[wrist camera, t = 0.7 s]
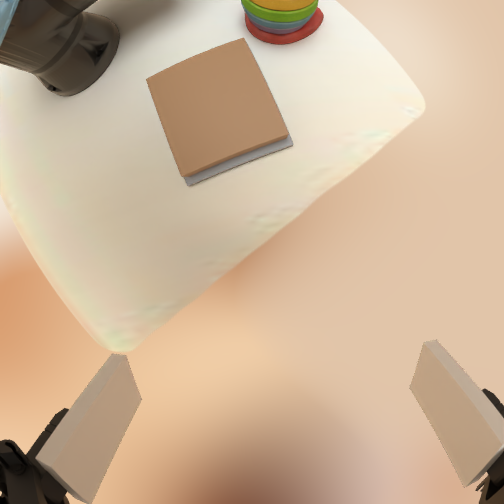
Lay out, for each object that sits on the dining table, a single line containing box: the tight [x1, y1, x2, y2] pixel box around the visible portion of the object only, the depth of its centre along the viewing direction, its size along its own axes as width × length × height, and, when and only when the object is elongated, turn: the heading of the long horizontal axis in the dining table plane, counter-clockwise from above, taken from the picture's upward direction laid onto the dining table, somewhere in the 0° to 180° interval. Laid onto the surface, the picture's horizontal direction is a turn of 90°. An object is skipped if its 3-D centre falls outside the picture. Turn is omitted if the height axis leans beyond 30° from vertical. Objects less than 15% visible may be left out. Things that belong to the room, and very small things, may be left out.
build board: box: [146, 38, 293, 186], centre depth 30 cm, size 16×14×4 cm
